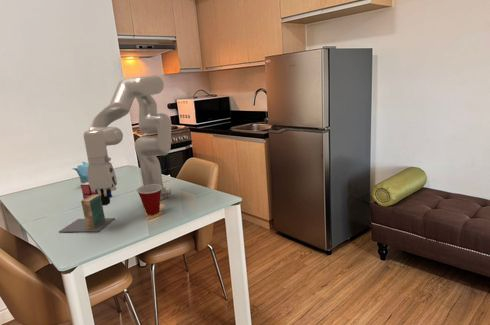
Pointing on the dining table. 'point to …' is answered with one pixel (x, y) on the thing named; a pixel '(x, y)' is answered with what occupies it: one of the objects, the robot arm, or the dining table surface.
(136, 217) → the dining table surface
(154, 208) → the plastic cup
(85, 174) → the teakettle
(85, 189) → the puzzle cube
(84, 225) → the mat
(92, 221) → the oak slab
